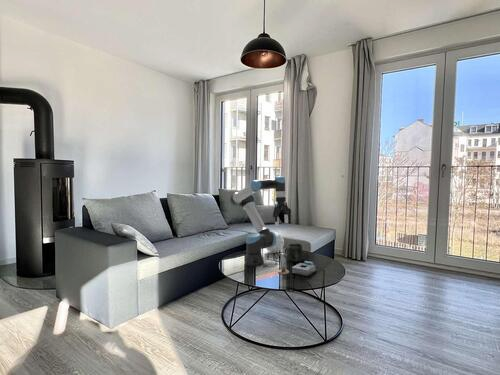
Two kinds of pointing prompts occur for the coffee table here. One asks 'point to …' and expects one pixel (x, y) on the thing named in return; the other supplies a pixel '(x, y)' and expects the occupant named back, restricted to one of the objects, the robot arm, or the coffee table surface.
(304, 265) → the block
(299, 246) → the mug
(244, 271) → the coffee table surface
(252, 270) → the coffee table surface
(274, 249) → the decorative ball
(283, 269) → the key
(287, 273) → the coaster
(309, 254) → the coffee table surface
